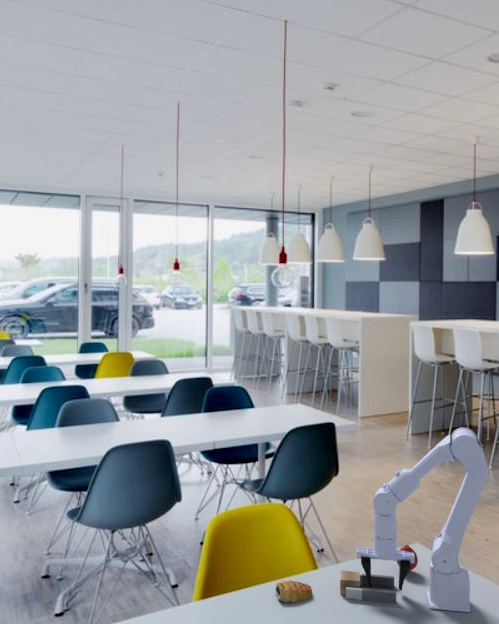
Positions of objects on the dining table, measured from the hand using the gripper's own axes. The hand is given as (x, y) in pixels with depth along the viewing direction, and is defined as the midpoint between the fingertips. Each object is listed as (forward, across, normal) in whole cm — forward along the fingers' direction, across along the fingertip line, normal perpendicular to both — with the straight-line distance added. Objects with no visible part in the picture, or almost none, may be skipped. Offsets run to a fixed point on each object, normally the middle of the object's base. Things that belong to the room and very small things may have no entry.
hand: (385, 587), depth 151 cm
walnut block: (+2, +9, 0) cm, 9 cm away
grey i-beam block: (+2, +4, 0) cm, 4 cm away
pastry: (+2, +24, +6) cm, 25 cm away
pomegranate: (+2, -6, -13) cm, 15 cm away
